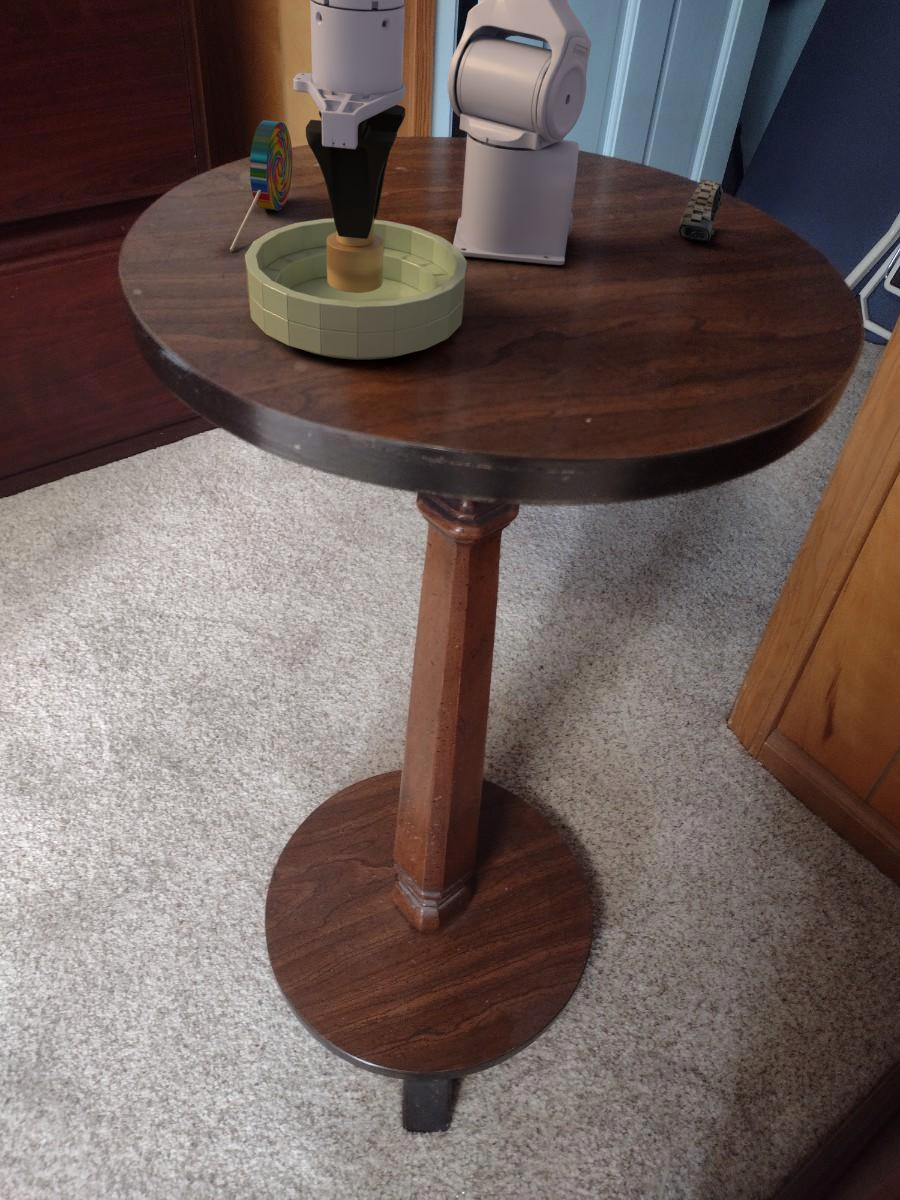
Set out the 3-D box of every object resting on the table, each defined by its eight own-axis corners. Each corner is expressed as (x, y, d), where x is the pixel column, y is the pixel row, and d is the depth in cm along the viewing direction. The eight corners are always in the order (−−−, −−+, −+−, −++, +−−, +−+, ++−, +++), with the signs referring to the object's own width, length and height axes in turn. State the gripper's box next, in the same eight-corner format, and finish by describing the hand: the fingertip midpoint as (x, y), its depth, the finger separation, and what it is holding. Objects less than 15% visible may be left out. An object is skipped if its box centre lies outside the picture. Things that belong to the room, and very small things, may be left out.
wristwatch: (677, 247, 90) (678, 219, 85) (702, 199, 90) (705, 168, 86) (708, 259, 89) (710, 231, 85) (733, 211, 90) (737, 180, 85)
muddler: (386, 273, 71) (388, 159, 66) (378, 295, 68) (381, 178, 63) (332, 267, 71) (330, 153, 66) (322, 290, 68) (320, 172, 63)
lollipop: (230, 284, 82) (281, 176, 90) (246, 286, 82) (296, 178, 90) (213, 211, 76) (269, 103, 84) (231, 214, 76) (285, 105, 84)
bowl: (468, 284, 78) (473, 228, 75) (453, 378, 66) (458, 316, 63) (275, 266, 78) (272, 209, 75) (226, 356, 66) (220, 293, 63)
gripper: (314, -25, 64) (318, 187, 73) (265, 19, 53) (277, 262, 62) (420, -15, 64) (412, 196, 73) (393, 31, 53) (387, 272, 62)
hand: (357, 227), depth 67 cm, fingers closed on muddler, 2 cm apart
